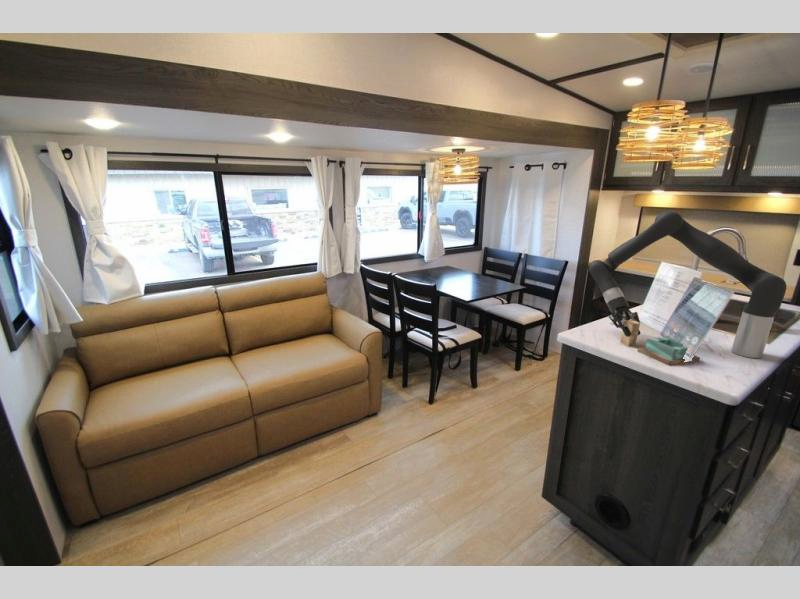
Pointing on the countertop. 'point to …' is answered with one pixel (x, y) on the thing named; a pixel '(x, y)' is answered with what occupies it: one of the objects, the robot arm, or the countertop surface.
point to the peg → (633, 329)
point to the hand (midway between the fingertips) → (633, 335)
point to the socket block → (666, 350)
